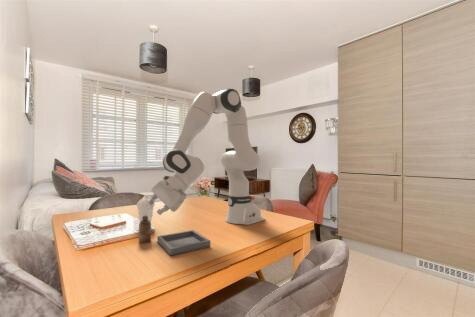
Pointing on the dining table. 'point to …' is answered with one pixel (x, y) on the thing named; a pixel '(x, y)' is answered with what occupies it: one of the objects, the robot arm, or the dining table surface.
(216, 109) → the robot arm
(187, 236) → the tray
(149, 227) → the brown bottle
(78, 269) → the dining table surface
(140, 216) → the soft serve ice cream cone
